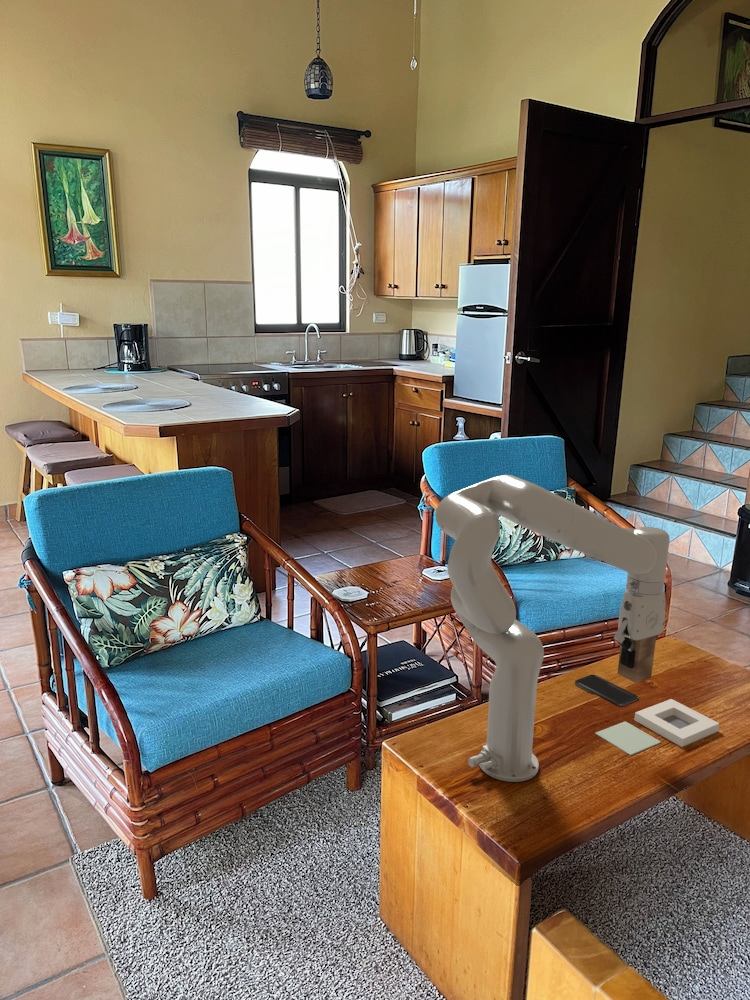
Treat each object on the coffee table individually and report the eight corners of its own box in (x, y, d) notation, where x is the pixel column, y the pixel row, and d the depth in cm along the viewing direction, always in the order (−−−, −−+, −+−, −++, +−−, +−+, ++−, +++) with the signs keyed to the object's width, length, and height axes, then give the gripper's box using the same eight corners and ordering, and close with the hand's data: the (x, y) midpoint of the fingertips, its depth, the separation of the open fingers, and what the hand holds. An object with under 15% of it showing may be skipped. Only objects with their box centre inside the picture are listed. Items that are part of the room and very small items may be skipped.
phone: (620, 706, 180) (573, 681, 192) (619, 710, 180) (572, 684, 192) (641, 697, 184) (593, 673, 196) (640, 701, 184) (593, 677, 196)
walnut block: (635, 682, 159) (640, 640, 157) (617, 673, 164) (622, 631, 161) (651, 677, 162) (656, 635, 160) (632, 668, 166) (637, 627, 164)
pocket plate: (681, 748, 163) (682, 739, 163) (634, 721, 174) (635, 712, 173) (718, 732, 170) (719, 723, 169) (670, 707, 181) (671, 698, 180)
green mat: (630, 757, 160) (630, 754, 160) (595, 735, 168) (595, 732, 168) (660, 744, 165) (661, 741, 165) (625, 723, 173) (625, 721, 173)
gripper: (632, 597, 150) (622, 678, 155) (685, 584, 159) (675, 661, 163) (603, 585, 157) (595, 664, 161) (656, 573, 165) (647, 648, 170)
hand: (635, 662), depth 162 cm, fingers closed on walnut block, 5 cm apart
